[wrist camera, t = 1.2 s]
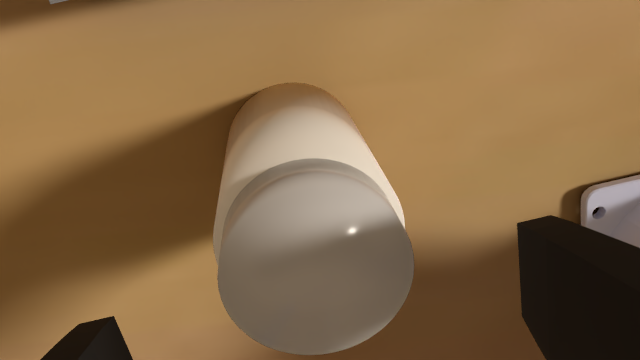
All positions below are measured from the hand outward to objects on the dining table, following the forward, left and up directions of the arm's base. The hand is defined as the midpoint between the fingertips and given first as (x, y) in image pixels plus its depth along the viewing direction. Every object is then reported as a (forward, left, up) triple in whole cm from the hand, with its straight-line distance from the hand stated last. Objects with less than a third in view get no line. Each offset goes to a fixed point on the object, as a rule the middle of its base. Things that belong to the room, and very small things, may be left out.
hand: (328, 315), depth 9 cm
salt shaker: (0, 0, -9) cm, 9 cm away
